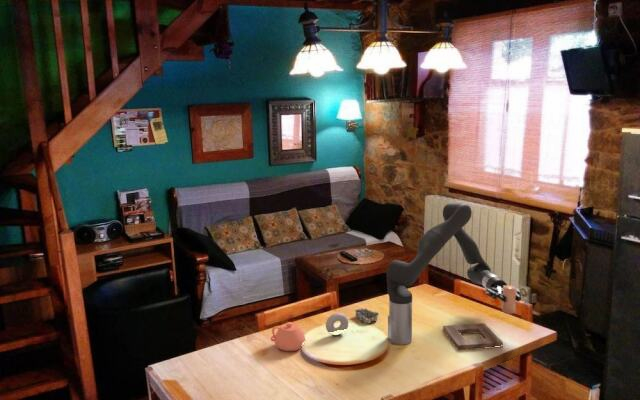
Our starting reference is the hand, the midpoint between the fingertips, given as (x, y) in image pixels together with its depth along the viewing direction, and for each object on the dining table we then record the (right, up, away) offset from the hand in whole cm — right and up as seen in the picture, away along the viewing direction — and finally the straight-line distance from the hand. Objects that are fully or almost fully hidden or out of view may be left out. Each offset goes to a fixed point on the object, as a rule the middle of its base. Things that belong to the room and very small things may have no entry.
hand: (512, 299), depth 208 cm
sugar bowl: (-89, -20, +3) cm, 91 cm away
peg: (0, -5, +4) cm, 7 cm away
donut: (-69, -18, +12) cm, 72 cm away
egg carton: (-55, -15, +28) cm, 64 cm away
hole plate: (-14, -17, +7) cm, 23 cm away
